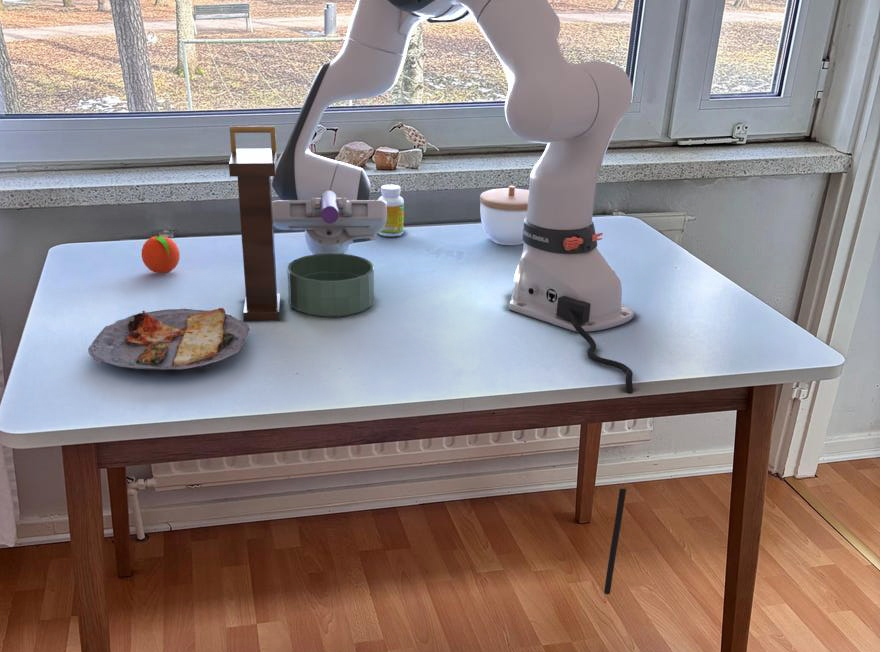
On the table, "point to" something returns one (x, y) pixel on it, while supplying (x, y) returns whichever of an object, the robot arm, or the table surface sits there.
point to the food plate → (170, 339)
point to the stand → (257, 224)
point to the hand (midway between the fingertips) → (329, 202)
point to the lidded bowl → (504, 214)
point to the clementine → (160, 254)
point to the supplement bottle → (393, 210)
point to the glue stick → (329, 207)
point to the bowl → (331, 284)
